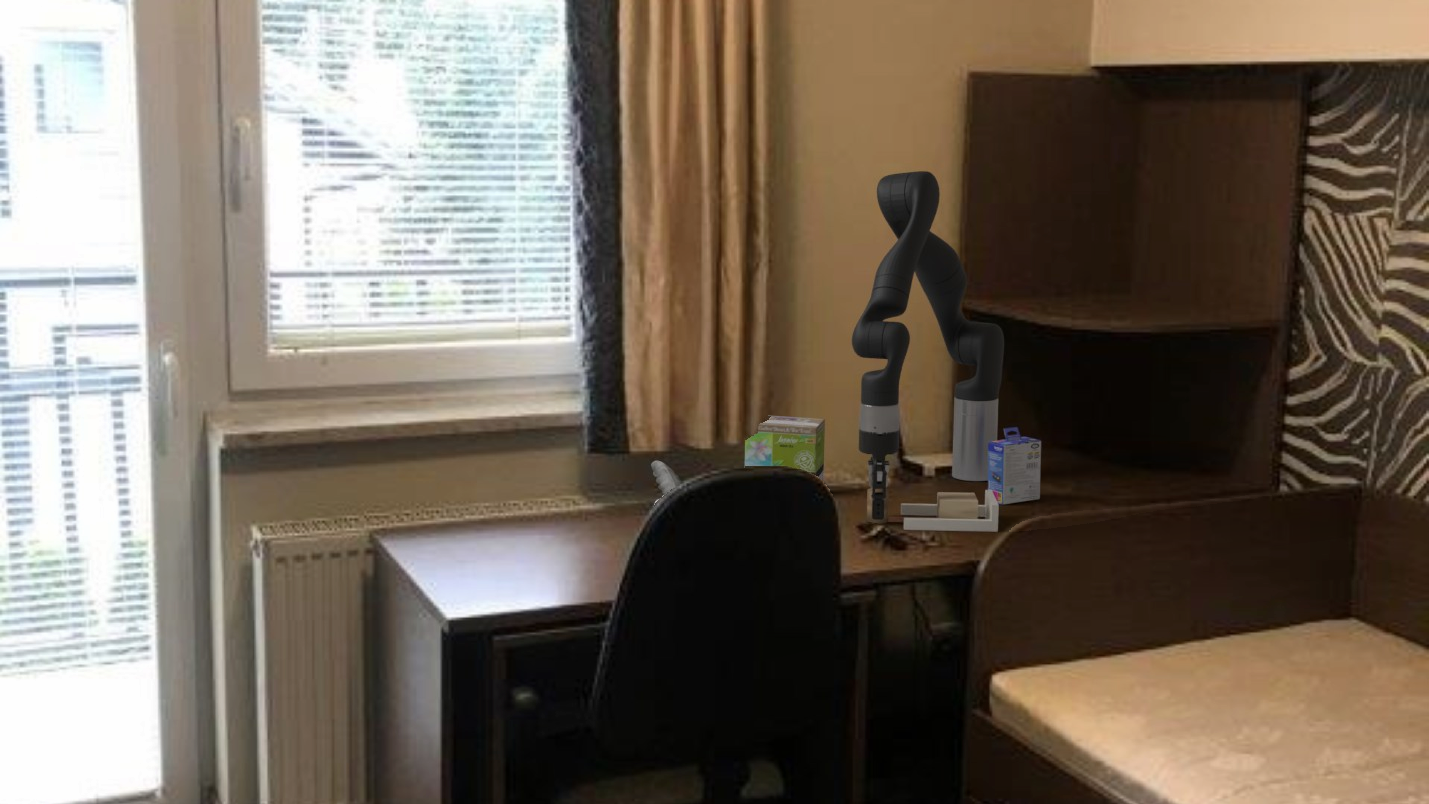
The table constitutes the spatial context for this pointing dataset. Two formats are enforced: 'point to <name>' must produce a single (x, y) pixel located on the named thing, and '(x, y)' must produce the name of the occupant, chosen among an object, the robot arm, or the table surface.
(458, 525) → the table surface
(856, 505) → the table surface
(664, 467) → the grey ribbed curved piece
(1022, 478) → the ink cartridge box
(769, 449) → the tea box
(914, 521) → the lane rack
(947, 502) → the beech mallet
